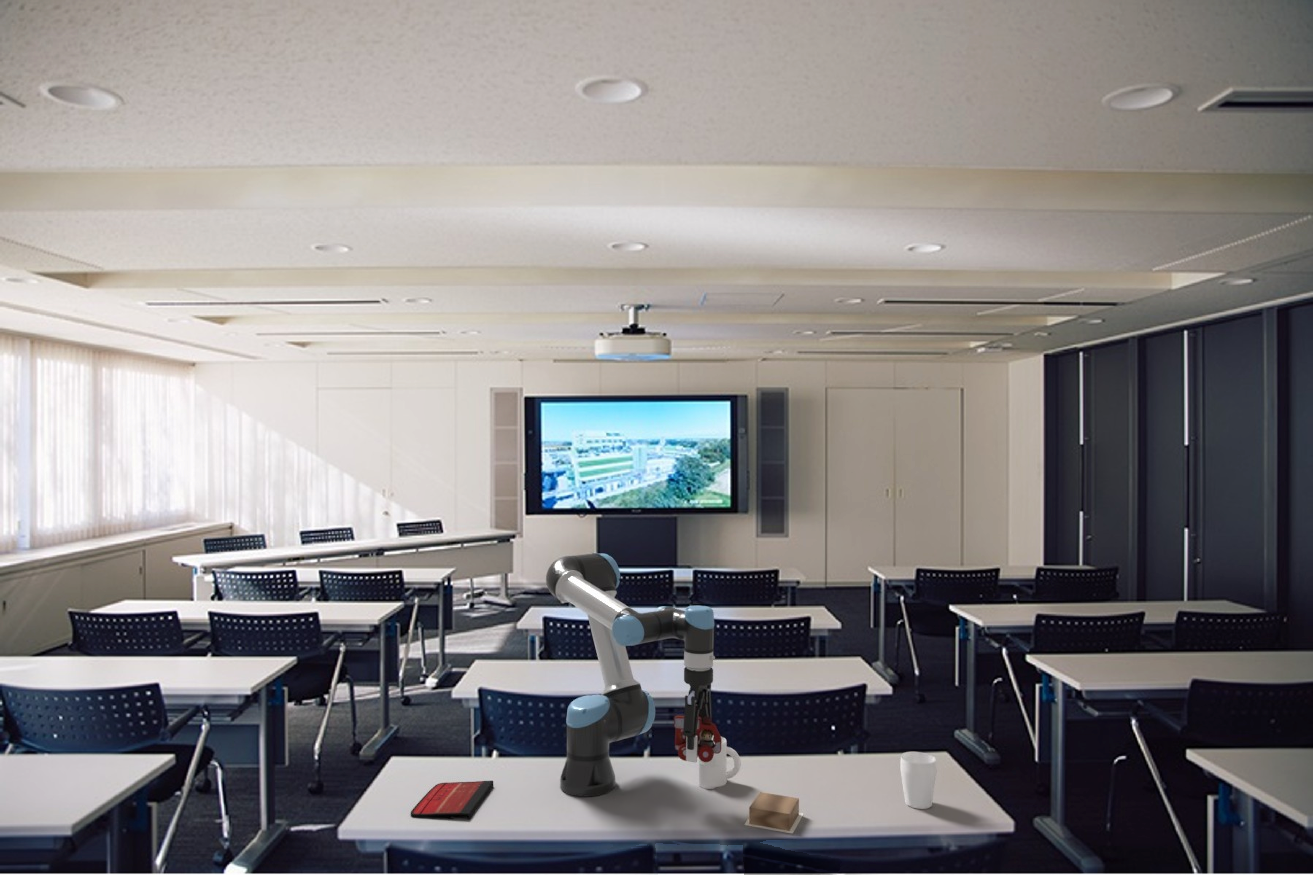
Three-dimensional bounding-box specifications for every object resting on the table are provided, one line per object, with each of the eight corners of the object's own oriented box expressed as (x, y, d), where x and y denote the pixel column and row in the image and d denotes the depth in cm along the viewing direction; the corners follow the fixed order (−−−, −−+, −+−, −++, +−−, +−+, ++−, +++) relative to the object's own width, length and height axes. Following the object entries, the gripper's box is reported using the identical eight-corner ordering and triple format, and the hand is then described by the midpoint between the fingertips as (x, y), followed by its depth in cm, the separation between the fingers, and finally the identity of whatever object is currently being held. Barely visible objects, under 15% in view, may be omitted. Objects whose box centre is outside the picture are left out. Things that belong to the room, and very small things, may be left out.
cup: (936, 799, 219) (936, 753, 219) (936, 813, 211) (936, 765, 211) (901, 794, 222) (901, 749, 222) (899, 808, 214) (899, 761, 214)
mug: (740, 791, 224) (740, 746, 224) (696, 788, 226) (696, 744, 226) (741, 779, 232) (741, 736, 232) (699, 777, 234) (699, 734, 234)
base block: (749, 823, 203) (749, 807, 203) (760, 807, 212) (760, 791, 212) (789, 830, 199) (789, 814, 199) (798, 814, 208) (798, 798, 208)
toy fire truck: (720, 763, 210) (721, 722, 210) (671, 760, 211) (672, 719, 211) (721, 753, 217) (722, 713, 217) (674, 750, 218) (675, 710, 218)
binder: (493, 779, 227) (469, 812, 206) (493, 788, 227) (469, 822, 206) (436, 779, 229) (407, 812, 208) (437, 788, 229) (407, 822, 208)
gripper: (698, 679, 203) (697, 772, 203) (724, 659, 222) (723, 744, 222) (670, 675, 206) (668, 767, 206) (698, 656, 225) (697, 740, 225)
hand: (697, 755), depth 214 cm, fingers closed on toy fire truck, 8 cm apart
